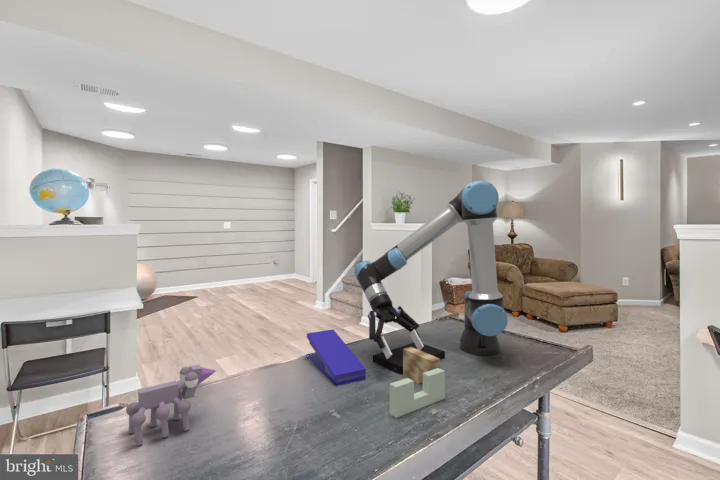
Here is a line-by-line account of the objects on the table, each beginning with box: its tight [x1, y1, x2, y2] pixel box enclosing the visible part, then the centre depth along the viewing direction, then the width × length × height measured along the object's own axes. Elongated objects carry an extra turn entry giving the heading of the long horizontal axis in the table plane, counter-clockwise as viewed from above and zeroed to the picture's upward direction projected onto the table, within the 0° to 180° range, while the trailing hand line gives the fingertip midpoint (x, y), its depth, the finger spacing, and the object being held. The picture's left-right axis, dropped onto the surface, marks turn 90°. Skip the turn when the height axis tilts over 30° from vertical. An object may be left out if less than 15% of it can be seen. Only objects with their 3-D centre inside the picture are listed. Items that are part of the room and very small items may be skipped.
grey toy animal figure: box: [125, 364, 217, 446], centre depth 87 cm, size 20×11×14 cm, turn 127°
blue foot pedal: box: [305, 329, 367, 386], centre depth 123 cm, size 12×28×10 cm, turn 29°
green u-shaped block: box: [389, 367, 446, 418], centre depth 96 cm, size 18×2×8 cm, turn 124°
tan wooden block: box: [402, 347, 441, 385], centre depth 111 cm, size 13×4×9 cm, turn 34°
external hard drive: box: [372, 342, 446, 376], centre depth 129 cm, size 14×23×3 cm, turn 129°
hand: (405, 352), depth 116 cm, fingers open, 13 cm apart
